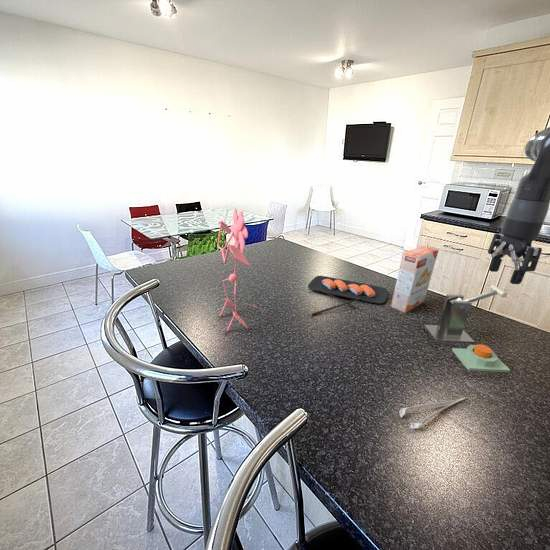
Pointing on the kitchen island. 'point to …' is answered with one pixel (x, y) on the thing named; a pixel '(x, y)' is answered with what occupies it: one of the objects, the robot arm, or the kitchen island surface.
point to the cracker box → (414, 278)
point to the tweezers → (428, 406)
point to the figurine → (239, 234)
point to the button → (482, 351)
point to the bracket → (452, 321)
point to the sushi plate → (348, 291)
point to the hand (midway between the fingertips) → (503, 277)
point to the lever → (482, 295)
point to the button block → (479, 360)
